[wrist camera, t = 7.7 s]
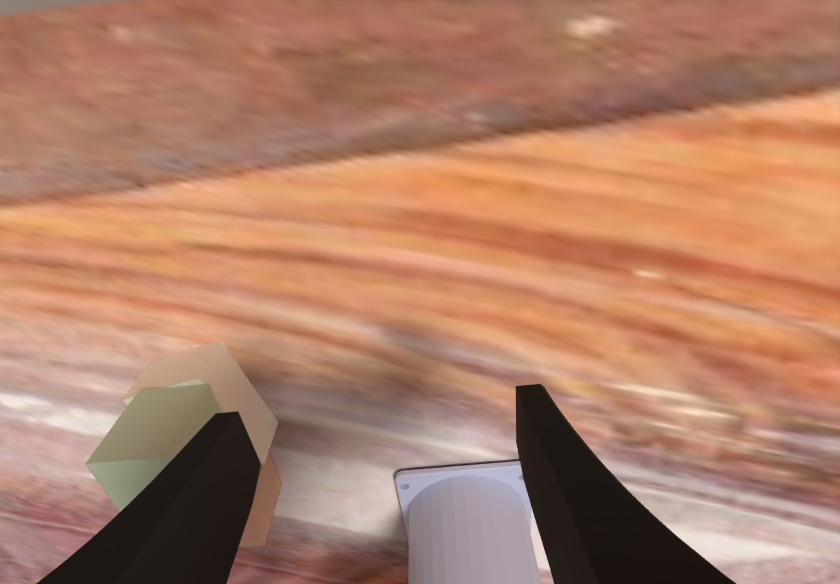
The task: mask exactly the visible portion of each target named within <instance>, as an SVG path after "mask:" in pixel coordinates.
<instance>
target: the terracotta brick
mask: <svg viewBox="0 0 840 584" xmlns="http://www.w3.org/2000/svg"><path fill="white" fill-rule="evenodd" d="M281 485H282V483H281V481H280V478H279V475H278V473H277V470H276V467H275V465H274V462H273V459H272V457H271V454H270V451H269V452H268V455H267V458H266V461H265V464H263V465H261V466H260V471H259V477H258V482H257V487H256V492H255V496H254V501H253V505H252V508H251V511H250V514H249V517H248V520H247V523H246V526H245V529H244V532H243V535H242V538H241V541H240V544H239V547H238V548H240V547H255V546H265V543H266V539H267V536H268V532H269V528H270V525H271V521H272V517H273V514H274V510H275V507H276V503H277V499H278V496H279V492H280V488H281Z"/></svg>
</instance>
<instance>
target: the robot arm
mask: <svg viewBox="0 0 840 584" xmlns="http://www.w3.org/2000/svg"><path fill="white" fill-rule="evenodd" d="M516 443H517V448H518V453H519V459H520V461H513V462H501V463H489V464H477V465H465V466H453V467H441V468H429V469H416V470H404V471H399V472H398V473H397V474H396V476H395V482H396V487H397V492H398V496H399V501H400V506H401V510H402V515H403V519H404V524H405V529H406V533H407V538H408V543H409V563H408V584H541V580H540V575H539V570H538V566H537V561H536V557H535V552H534V548H533V543H532V539H531V534H530V533H531V507H532V510H533V513H534V517H535V520H536V523H537V527H538V530H539V533H540V537H541V540H542V543H543V546H544V550H545V553H546V556H547V560H548V563H549V566H550V570H551V573H552V577H553V581H554V584H736V583H735V582H733V581H732V580H731V579H729V578H728V577H727V576H725V575H724V574H723V573H721V572H720V571H719V570H718V569H716V568H715V567H714V566H713V565H712V564H710V563H709V562H708V561H707V560H705V559H704V558H703V557H702V556H701V555H699V554H698V553H697V552H696V551H694V550H693V549H692V548H691V547H690V546H688V545H687V544H686V543H685V542H683V541H682V540H681V539H680V538H678V537H677V536H676V535H675V534H674V533H673V532H672V531H671V530H669V529H668V528H667V527H666V526H665V525H664V524H663V523H662V522H661V521H659V520H658V519H657V518H656V517H655V516H654V515H653V514H652V513H651V512H650V511H649V510H648V509H646V508H645V507H644V506H643V505H642V504H641V503H640V502H639V501H638V500H637V499H636V498H635V497H634V496H633V495H632V494H631V493H630V492H629V491H628V490H627V489H626V488H625V487H624V486H623V485H622V484H621V483H620V482H619V481H618V480H617V479H616V477H615V476H614V475H613V474H612V473H611V472H610V471H609V470H608V469H607V468H606V467H605V466H604V464H603V463H602V462H601V461H600V460H599V459H598V458H597V456H596V455H595V454H594V453H593V452H592V451H591V449H590V448H589V447H588V446H587V445H586V443H585V442H584V441H583V440H582V438H581V437H580V436H579V435H578V434H577V432H576V431H575V430H574V429H573V427H572V426H571V425H570V423H569V422H568V421H567V419H566V418H565V417H564V415H563V414H562V413H561V411H560V410H559V408H558V407H557V406H556V404H555V403H554V401H553V400H552V398H551V397H550V395H549V394H548V392H547V391H546V389H545V387H543V386H542V385H541V384H535V385H524V386H516ZM260 466H261V463H260V460H259V458H258V456H257V453H256V451H255V449H254V446H253V444H252V442H251V439H250V437H249V435H248V432H247V430H246V428H245V425H244V423H243V421H242V419H241V416H240V414H239V412H238V411H236V412H225V413H216V414H215V415H214V416H213V417H212V418H211V419H210V420H209V421H208V422H207V423H206V424H205V425H204V426H203V427H202V428H201V429H200V430H199V431H198V432H197V433H196V435H195V436H194V437H193V438H192V439H191V440H190V441H189V442H188V443H187V444H186V445H185V446H184V447H183V449H182V450H181V451H180V452H179V453H178V454H177V455H176V456H175V457H174V458H173V459H172V460H171V461H170V462H169V463H168V464H167V466H166V467H165V468H164V469H163V470H162V471H161V472H160V473H159V474H158V475H157V476H156V477H155V478H154V479H153V480H152V481H151V482H150V483H149V484H148V485H147V486H146V487H145V488H144V489H143V490H142V491H141V492H140V493H139V494H138V495H137V496H136V497H135V498H134V499H133V500H132V501H131V502H130V503H129V504H128V505H127V506H126V507H125V508H124V509H123V510H122V511H121V512H120V513H119V514H118V515H117V516H116V517H115V518H114V519H112V520H111V521H110V522H109V523H108V524H107V525H106V526H105V527H104V528H103V529H102V530H100V531H99V532H98V533H97V534H96V535H95V536H94V537H93V538H92V539H90V540H89V541H88V542H87V543H86V544H85V545H83V546H82V547H81V548H80V549H79V550H78V551H76V552H75V553H74V554H73V555H72V556H71V557H69V558H68V559H67V560H66V561H65V562H63V563H62V564H61V565H60V566H58V567H57V568H56V569H55V570H53V571H52V572H51V573H49V574H48V575H47V576H46V577H44V578H43V579H42V580H40V581H39V582H38V583H37V584H226V582H227V579H228V576H229V574H230V571H231V568H232V565H233V562H234V559H235V556H236V553H237V550H238V547H239V544H240V541H241V538H242V535H243V532H244V529H245V526H246V523H247V520H248V517H249V514H250V511H251V508H252V505H253V501H254V496H255V492H256V487H257V482H258V477H259V471H260Z"/></svg>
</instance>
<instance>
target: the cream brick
mask: <svg viewBox="0 0 840 584" xmlns="http://www.w3.org/2000/svg"><path fill="white" fill-rule="evenodd" d="M198 384H209V386H210V388H211V390H212V392H213V394H214V397H215V399H216V401H217V403H218V405H219V407H220V410H221V412H222V413H225V412H236V411H238V412H239V414H240V416H241V419H242V421H243V423H244V425H245V428H246V430H247V432H248V435H249V437H250V439H251V442H252V444H253V446H254V449H255V451H256V453H257V456H258V458H259V460H260V463H261V465H263V464H265V461H266V458H267V455H268V452H269V449H270V446H271V443H272V440H273V437H274V434H275V431H276V428H277V425H278V421H277V420H276V418H275V417H274V416H273V414H272V413H271V411H270V410H269V408H268V407H267V405H266V404H265V403H264V401H263V400H262V398H261V397H260V395H259V394H258V393H257V391H256V390H255V388H254V387H253V385H252V384H251V383H250V381H249V380H248V378H247V377H246V375H245V374H244V373H243V371H242V370H241V368H240V367H239V365H238V364H237V362H236V361H235V360H234V358H233V357H232V355H231V354H230V352H229V351H228V350H227V348H226V347H225V345H224V344H223V342H222V341H221V340H220V341H217V342H213V343H210V344H207V345H203V346H200V347H197V348H193V349H190V350H187V351H183V352H180V353H177V354H173V355H170V356H167V357H163V358H160V359H157V360H153V361H151V362H150V363H149V365H148V366H147V367H146V369H145V370H144V371H143V373H142V374H141V375H140V377H139V378H138V379H137V381H136V382H135V383H134V385H133V386H132V387H131V389H130V390H129V391H128V393H127V394H126V395H125V397H124V398H123V399H122V401H123V402H124V403H125V404H126V405H127V406H128V405H129V403H130V402H131V401H132V399H133V398H134V397H135V395H136V394H137V393H138V391H139V390H145V389H156V388H166V387H177V386H188V385H198Z"/></svg>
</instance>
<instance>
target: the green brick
mask: <svg viewBox="0 0 840 584" xmlns="http://www.w3.org/2000/svg"><path fill="white" fill-rule="evenodd" d="M216 413H222V412H221V410H220V407H219V405H218V403H217V401H216V399H215V397H214V394H213V392H212V390H211V388H210V386H209V384H198V385H188V386H177V387H166V388H156V389H145V390H139V391H138V393H137V394H136V395H135V397H134V398H133V399H132V401H131V402H130V403H129V405H128V406H127V408H126V409H125V410H124V412H123V413H122V414H121V416H120V417H119V419H118V420H117V421H116V423H115V424H114V425H113V427H112V428H111V430H110V431H109V432H108V434H107V435H106V436H105V438H104V439H103V440H102V442H101V443H100V445H99V446H98V447H97V449H96V450H95V451H94V453H93V454H92V456H91V457H90V458H89V460H88V461H87V462H86V466H87V467H88V469H89V470H90V471H91V473H92V474H93V475H94V477H95V478H96V480H97V481H98V482H99V484H100V485H101V486H102V488H103V489H104V491H105V492H106V493H107V495H108V496H109V498H110V499H111V500H112V502H113V503H114V504H115V506H116V507H117V509H118V510H119V511H120V512H121V511H122V510H123V509H124V508H125V507H126V506H127V505H128V504H129V503H130V502H131V501H132V500H133V499H134V498H135V497H136V496H137V495H138V494H139V493H140V492H141V491H142V490H143V489H144V488H145V487H146V486H147V485H148V484H149V483H150V482H151V481H152V480H153V479H154V478H155V477H156V476H157V475H158V474H159V473H160V472H161V471H162V470H163V469H164V468H165V467H166V466H167V464H168V463H169V462H170V461H171V460H172V459H173V458H174V457H175V456H176V455H177V454H178V453H179V452H180V451H181V450H182V449H183V447H184V446H185V445H186V444H187V443H188V442H189V441H190V440H191V439H192V438H193V437H194V436H195V435H196V433H197V432H198V431H199V430H200V429H201V428H202V427H203V426H204V425H205V424H206V423H207V422H208V421H209V420H210V419H211V418H212V417H213V416H214V415H215V414H216Z"/></svg>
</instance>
